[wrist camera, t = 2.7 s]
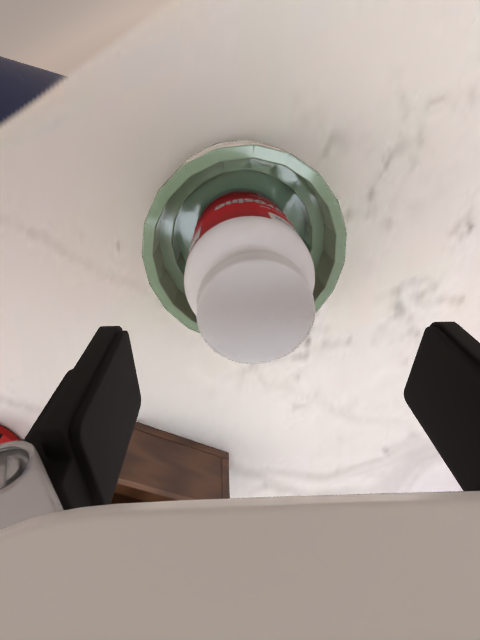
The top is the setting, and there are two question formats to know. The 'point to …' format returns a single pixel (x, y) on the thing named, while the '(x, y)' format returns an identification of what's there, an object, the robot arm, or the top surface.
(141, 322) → the top surface
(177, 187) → the bowl
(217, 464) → the holder
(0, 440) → the canned food
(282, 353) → the pill bottle
